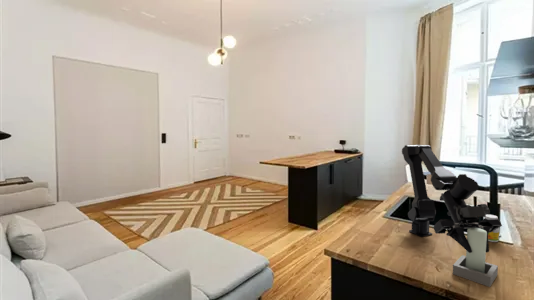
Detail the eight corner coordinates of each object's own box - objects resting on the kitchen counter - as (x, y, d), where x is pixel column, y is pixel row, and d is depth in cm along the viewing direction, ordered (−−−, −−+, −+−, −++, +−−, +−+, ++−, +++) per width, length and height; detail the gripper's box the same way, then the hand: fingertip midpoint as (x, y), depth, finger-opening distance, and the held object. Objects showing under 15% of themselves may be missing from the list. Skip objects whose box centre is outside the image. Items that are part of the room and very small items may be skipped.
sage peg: (468, 264, 89) (470, 226, 88) (486, 270, 85) (489, 230, 84) (463, 269, 86) (464, 230, 85) (481, 276, 82) (483, 235, 81)
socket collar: (461, 263, 92) (462, 255, 92) (497, 274, 85) (497, 265, 85) (452, 273, 86) (453, 264, 86) (490, 287, 79) (490, 277, 79)
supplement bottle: (478, 237, 112) (479, 214, 111) (490, 236, 113) (491, 213, 112) (489, 242, 107) (491, 218, 106) (502, 241, 107) (503, 218, 106)
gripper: (439, 195, 87) (462, 243, 78) (499, 194, 87) (528, 242, 77) (425, 211, 96) (443, 256, 86) (479, 209, 96) (503, 255, 86)
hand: (479, 252), depth 84 cm, fingers closed on sage peg, 5 cm apart
